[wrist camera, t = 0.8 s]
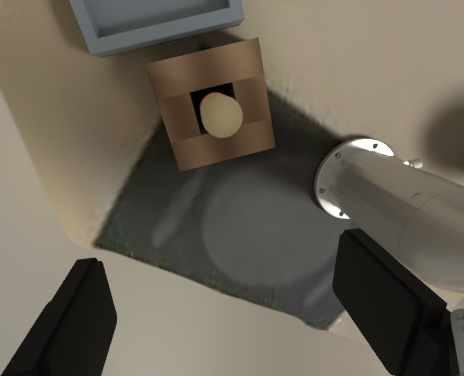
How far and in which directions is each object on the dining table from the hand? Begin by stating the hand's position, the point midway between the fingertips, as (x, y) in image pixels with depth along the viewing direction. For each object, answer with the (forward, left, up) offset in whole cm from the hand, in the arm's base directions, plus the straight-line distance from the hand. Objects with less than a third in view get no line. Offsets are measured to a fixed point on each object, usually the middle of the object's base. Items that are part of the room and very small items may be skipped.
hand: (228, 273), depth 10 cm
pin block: (-2, -4, -26) cm, 26 cm away
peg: (-2, -4, -26) cm, 26 cm away
